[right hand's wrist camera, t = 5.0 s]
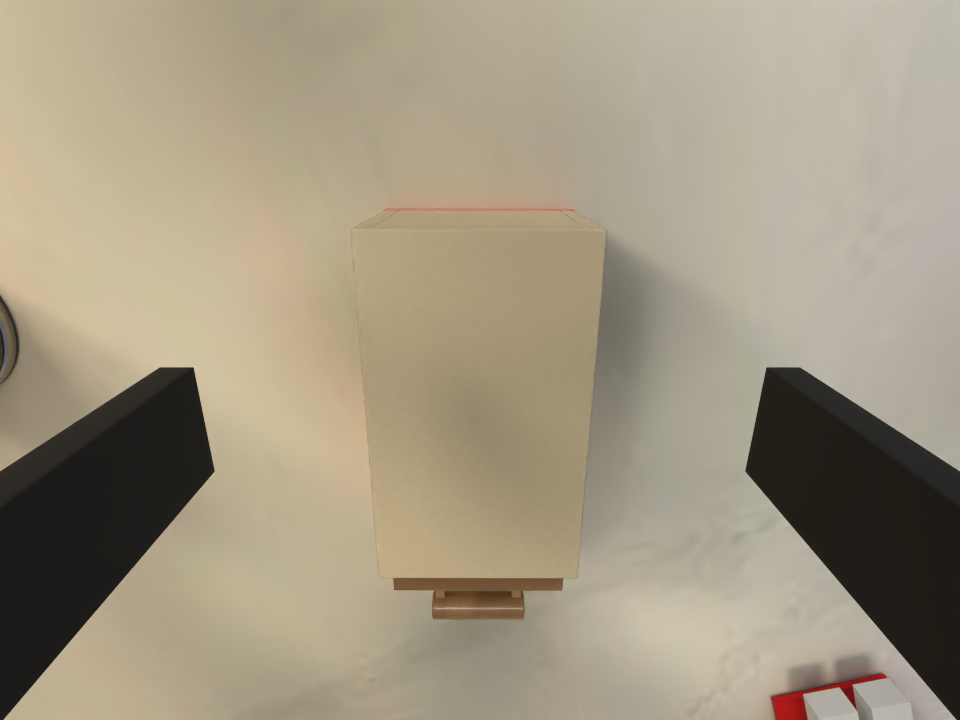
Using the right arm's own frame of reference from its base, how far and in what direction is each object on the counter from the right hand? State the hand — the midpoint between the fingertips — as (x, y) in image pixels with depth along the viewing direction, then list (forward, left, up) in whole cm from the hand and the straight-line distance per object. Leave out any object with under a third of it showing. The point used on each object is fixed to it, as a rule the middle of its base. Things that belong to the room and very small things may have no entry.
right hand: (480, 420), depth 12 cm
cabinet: (+3, -5, -21) cm, 22 cm away
